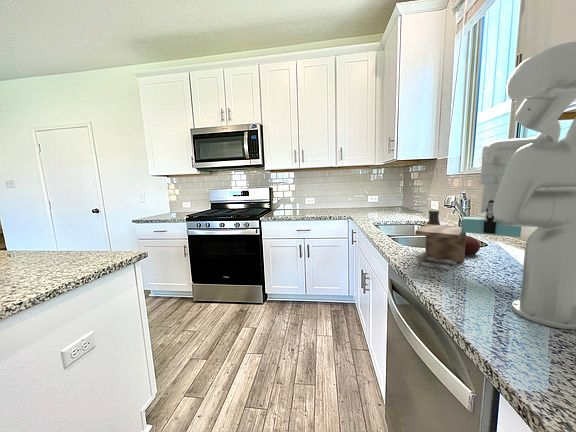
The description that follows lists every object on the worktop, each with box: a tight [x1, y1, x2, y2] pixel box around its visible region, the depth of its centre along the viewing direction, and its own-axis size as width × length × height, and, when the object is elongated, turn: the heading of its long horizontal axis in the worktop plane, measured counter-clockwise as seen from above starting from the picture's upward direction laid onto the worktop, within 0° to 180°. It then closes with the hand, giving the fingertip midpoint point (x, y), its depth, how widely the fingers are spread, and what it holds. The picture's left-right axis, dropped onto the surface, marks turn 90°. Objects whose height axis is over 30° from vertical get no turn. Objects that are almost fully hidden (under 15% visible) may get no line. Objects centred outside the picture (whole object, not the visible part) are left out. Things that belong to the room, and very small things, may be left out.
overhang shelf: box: [414, 223, 467, 271], centre depth 101 cm, size 14×19×14 cm
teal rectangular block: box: [461, 216, 522, 238], centre depth 89 cm, size 16×6×5 cm, turn 49°
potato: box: [464, 235, 481, 256], centre depth 114 cm, size 12×11×8 cm
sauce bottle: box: [424, 209, 441, 250], centre depth 116 cm, size 6×6×20 cm
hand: (489, 231), depth 89 cm, fingers closed on teal rectangular block, 6 cm apart
